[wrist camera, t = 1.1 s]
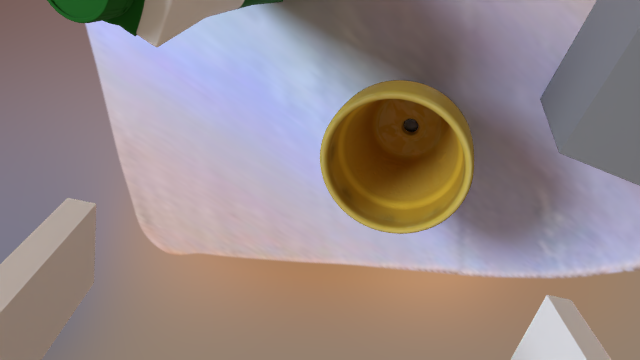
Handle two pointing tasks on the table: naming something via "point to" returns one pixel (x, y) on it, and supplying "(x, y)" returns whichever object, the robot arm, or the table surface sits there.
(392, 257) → the table surface
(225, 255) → the table surface
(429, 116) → the plant pot
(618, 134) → the control box
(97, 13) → the milk carton
